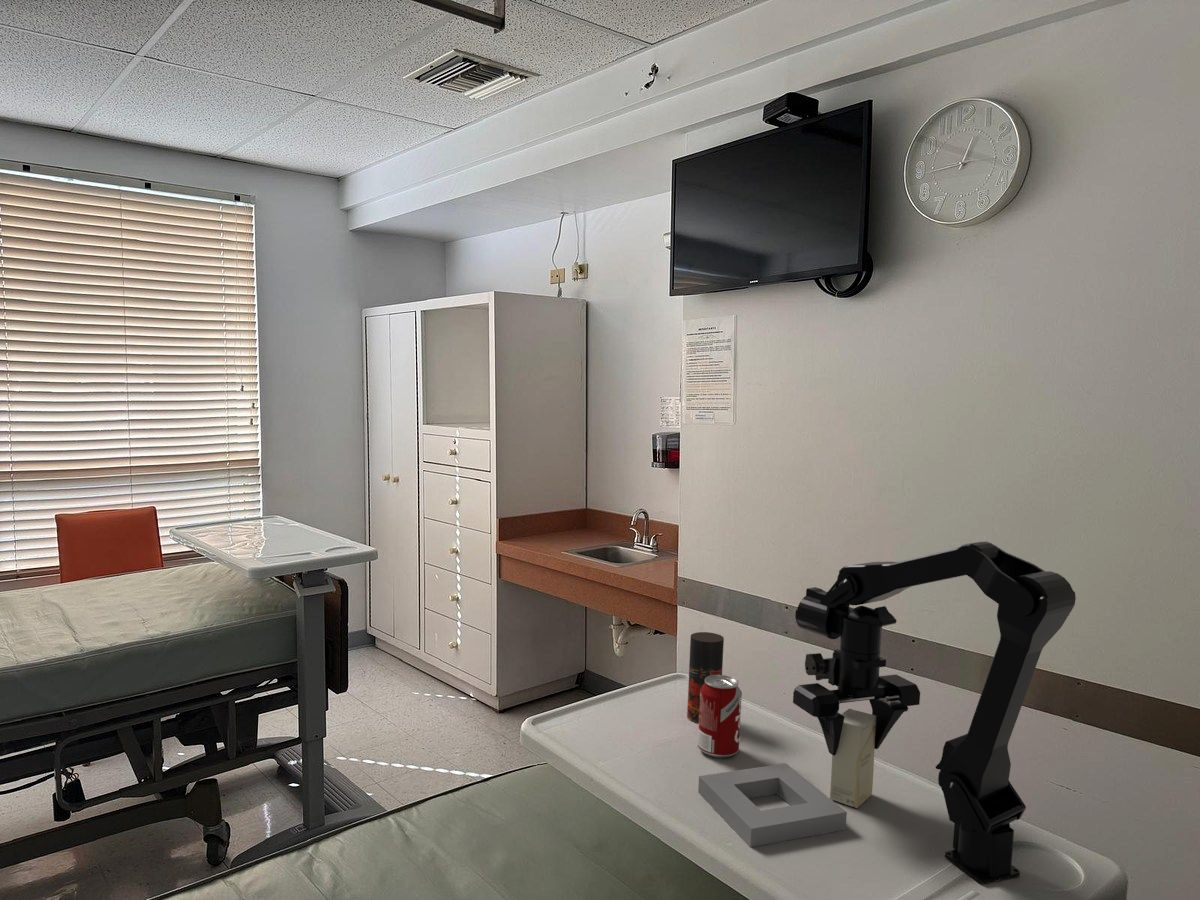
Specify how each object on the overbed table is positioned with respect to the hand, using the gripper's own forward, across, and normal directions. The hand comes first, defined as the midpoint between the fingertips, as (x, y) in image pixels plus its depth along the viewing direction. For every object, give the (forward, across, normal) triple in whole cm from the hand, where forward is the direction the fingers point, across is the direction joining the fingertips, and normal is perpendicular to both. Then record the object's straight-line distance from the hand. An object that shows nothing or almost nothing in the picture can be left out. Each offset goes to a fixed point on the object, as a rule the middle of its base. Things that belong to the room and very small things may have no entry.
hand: (853, 751), depth 121 cm
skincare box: (+7, 0, 0) cm, 7 cm away
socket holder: (+7, +14, 0) cm, 16 cm away
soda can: (+7, +12, -19) cm, 24 cm away
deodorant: (+7, +8, -32) cm, 34 cm away
